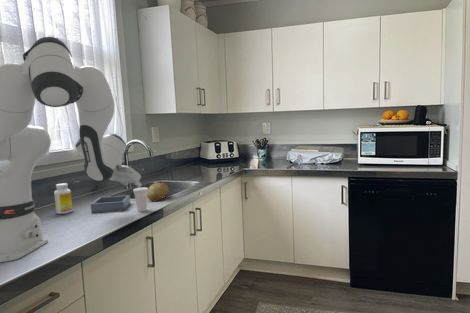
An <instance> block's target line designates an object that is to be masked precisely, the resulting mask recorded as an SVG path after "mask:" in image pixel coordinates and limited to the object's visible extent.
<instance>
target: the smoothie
mask: <svg viewBox="0 0 470 313" xmlns="http://www.w3.org/2000/svg"><path fill="white" fill-rule="evenodd" d="M148 189H149V187H145V186H144V187H136V188H134V189H133V190H132V192H133V194H134V195H133V196H134V199H135V205H136V210H137V212H139V213H140V212H141V213H142V212H146V211H147V208H148V207H147V206H148V197H147V191H148Z"/></svg>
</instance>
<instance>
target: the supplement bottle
mask: <svg viewBox="0 0 470 313" xmlns="http://www.w3.org/2000/svg"><path fill="white" fill-rule="evenodd" d="M68 185H69V184H68V183H66V182H64V183H63V182H62V183H57V184H55V188H56V190H54V191H53V192H54V193H53V194H54V202H55V211H56V214H58V215H65V214H70V213H72V212H73V211H74V210H73V201H72V200H73V199H72V190H71V189H70V188H68Z"/></svg>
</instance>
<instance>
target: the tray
mask: <svg viewBox="0 0 470 313" xmlns="http://www.w3.org/2000/svg"><path fill="white" fill-rule="evenodd" d="M130 198H131V196H130V195H129V194H128V195H126V194H125V195H113V196H99V197H98V198H96V199H95V200H94V201H93V202H91V203H90V209H91V210H90V211H91V214H96V213H99V214H100V213H110V212H123V211H126V209H127V208H128V207H129V205H130V204H131V199H130Z"/></svg>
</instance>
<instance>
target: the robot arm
mask: <svg viewBox="0 0 470 313" xmlns="http://www.w3.org/2000/svg"><path fill="white" fill-rule="evenodd" d="M22 58H23V62H21V63H14V62H8V63H4V64H2V65H0V162H4V161H9V164H8V167H7V168H6V169H4V170H3V171H1V172H0V263H5V262H11V261H14V260H18V259H21V258H23V257H24V256H26V255H28V254H30V253H31V252H33V251H35V250H37V249H38V248H40V247H42V246H43V245H46V244H47V243H48V242H49V241H48V240H49V239H48V238H46V237H44V233H43V228H42V223H41V222H42V221H41V218H40V217H39V216H38V215H37V214H36V213H35V211H36V209H35V208H36V207H35V200H34V199H33V196H32V175H33V171H34V169H35V166H36V165H37V163H38V162H39V161H40V160H41V158H42V157H44V156H45V155H46V154H47V153H49V150H50V148H51V144H52V142H51V141H52V140H51V137H50V134H49V132H48V131H47V130H46V129H45V127H42V126H38V125H37V126H35V125H30V124H31V122H32V118H33V113H34V108H35V105H36V101H37V102H39V103H40V104H41V105H44V106H46V107H50V108H60V107H65V106H68V105H71V104H74V103H75V105H76V107H77V112H78V121H79V122H78V123H79V127H78V128H79V129H78V130H79V131H78V132H79V133H78V135H79V139H78V140H77V141H76V143H75V150H76V151H77V153H79V155H80V156H81V157H82V158H83V159H84V163H83V169H84V173H85V174H86V175H87V176H88V177H89V178H90V179H91V180H93V181H96V182H103V181H108V180H110V181H114V182H118V183H120V184H122V185H123V186H125V187H126V186H128V185H129V183H131V184H134V186H135V187H136V188H139V187H140V188H142V185H143V184H142V183H141V182H140V180H141V178H142V176H141V174H140V173H139V172H138V171H136V170H135V169H134V168H132V166H129V165H122V163H123V161H122V157H123V155H124V153H125V152H126V149H127V144H126V142H125V140H124V139H123V138H122V137H121V136H120V135H118V134H117V133H107V134H105V133H106V131H107V130H108V127H109V125H110V123H111V122H112V119H113V118H114V114H115V100H114V95H113V93H112V89H111V88H110V84H109V82H108V80H107V78H106V76H105V75H104V73H103V71H102V70H101V69H100V68H97V67H95V66H92V65H84V66H80V67H78V66H75V65H74V62H73V56H72V53H71V50H70V49H69V46H68V45H67V44H66V43H65V41H62V39H59V38H57V37H53V36H44V37H41V38H38V39H37V40H36V41H35V42H34V43H33V44H32V45H31V47H30V48H29V49H28V50H27V51H25V52H24V53H23V54H22Z"/></svg>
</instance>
